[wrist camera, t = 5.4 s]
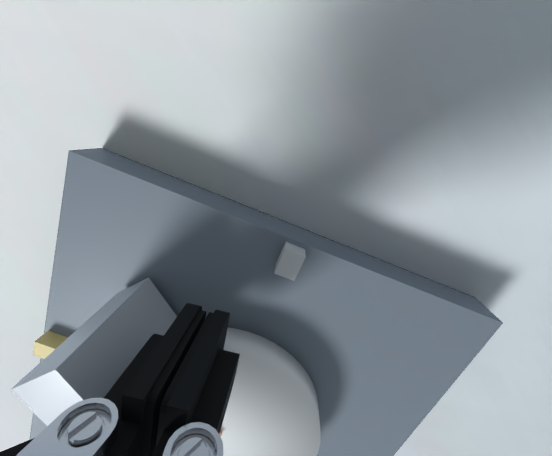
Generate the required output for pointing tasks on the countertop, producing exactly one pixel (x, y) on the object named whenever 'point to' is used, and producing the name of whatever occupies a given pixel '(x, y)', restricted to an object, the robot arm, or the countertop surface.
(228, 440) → the dial
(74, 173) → the panel
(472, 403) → the countertop surface
